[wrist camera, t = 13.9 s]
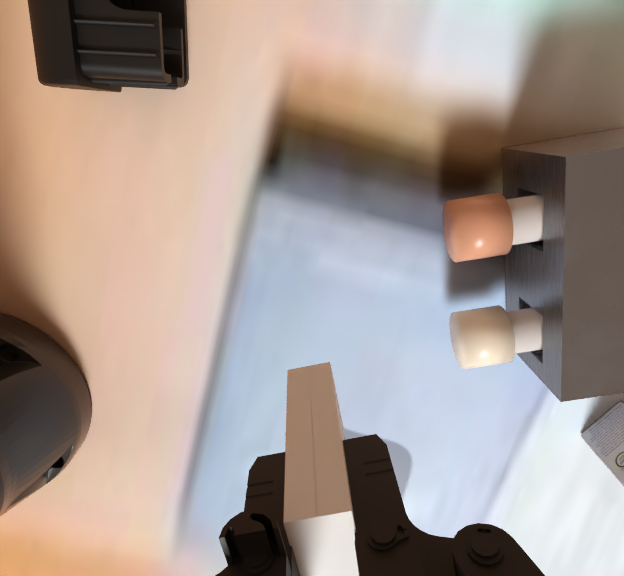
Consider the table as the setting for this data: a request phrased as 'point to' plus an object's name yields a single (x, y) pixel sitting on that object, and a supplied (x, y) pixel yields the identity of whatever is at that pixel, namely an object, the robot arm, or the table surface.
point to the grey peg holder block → (572, 260)
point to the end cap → (110, 43)
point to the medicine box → (609, 439)
